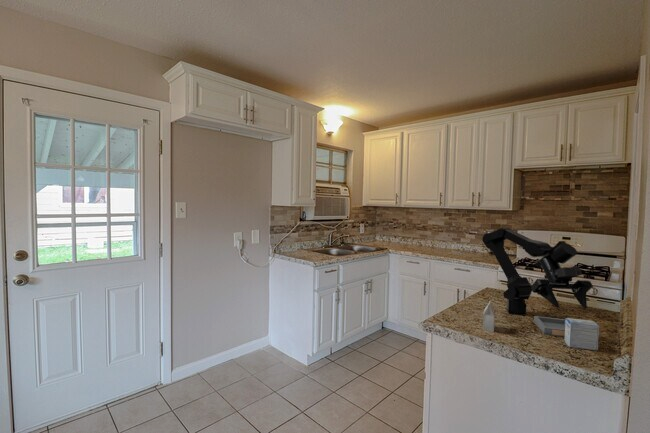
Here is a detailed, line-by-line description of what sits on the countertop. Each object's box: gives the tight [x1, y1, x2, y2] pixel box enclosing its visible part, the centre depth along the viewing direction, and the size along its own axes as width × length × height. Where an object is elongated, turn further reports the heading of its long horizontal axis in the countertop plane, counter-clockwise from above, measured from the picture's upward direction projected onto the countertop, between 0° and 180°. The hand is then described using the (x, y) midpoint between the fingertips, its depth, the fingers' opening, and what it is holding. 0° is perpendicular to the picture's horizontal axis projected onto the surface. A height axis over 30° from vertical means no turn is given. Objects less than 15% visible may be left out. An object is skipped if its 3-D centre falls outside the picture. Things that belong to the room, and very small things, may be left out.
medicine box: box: [564, 317, 600, 351], centre depth 106 cm, size 8×4×9 cm, turn 71°
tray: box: [533, 315, 566, 338], centre depth 120 cm, size 11×13×2 cm
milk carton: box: [482, 300, 496, 333], centre depth 121 cm, size 4×7×10 cm, turn 149°
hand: (571, 307), depth 111 cm, fingers open, 9 cm apart
